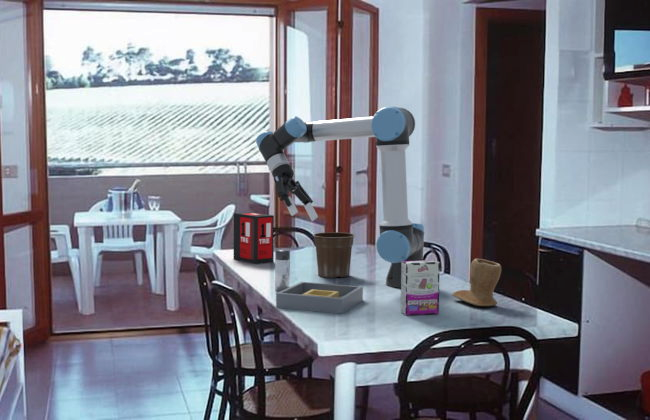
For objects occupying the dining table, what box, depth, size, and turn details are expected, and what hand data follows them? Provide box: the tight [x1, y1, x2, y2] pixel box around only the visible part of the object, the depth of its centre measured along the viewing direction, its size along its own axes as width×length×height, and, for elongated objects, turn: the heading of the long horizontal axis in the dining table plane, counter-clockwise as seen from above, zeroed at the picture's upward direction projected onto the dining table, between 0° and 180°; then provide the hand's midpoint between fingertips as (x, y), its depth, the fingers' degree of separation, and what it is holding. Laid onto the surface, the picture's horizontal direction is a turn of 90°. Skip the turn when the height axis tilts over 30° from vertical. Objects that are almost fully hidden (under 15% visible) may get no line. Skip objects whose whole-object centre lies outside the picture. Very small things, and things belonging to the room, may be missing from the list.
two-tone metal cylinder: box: [274, 249, 291, 292], centre depth 286 cm, size 5×5×14 cm
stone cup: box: [452, 258, 502, 307], centre depth 269 cm, size 15×12×15 cm
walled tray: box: [275, 281, 364, 314], centre depth 265 cm, size 22×22×4 cm
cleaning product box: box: [233, 211, 275, 265], centre depth 349 cm, size 16×9×20 cm, turn 42°
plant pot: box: [312, 231, 356, 279], centre depth 317 cm, size 16×16×16 cm
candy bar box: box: [400, 259, 441, 316], centre depth 253 cm, size 11×5×16 cm, turn 105°
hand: (305, 216), depth 290 cm, fingers open, 13 cm apart
